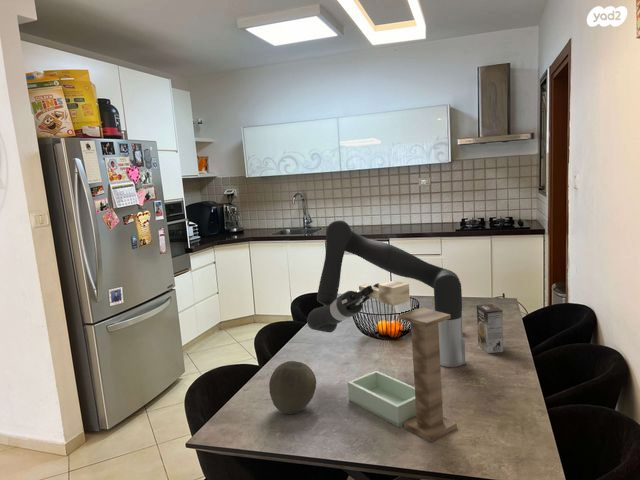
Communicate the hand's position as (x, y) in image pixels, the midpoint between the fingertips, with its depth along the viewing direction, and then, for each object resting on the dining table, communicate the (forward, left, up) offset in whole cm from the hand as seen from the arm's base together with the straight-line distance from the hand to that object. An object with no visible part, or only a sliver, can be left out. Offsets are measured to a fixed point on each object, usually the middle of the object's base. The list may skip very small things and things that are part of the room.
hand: (375, 287), depth 141 cm
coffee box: (-46, -36, -37) cm, 69 cm away
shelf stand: (-11, +16, -37) cm, 41 cm away
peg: (-1, +2, -3) cm, 4 cm away
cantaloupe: (+27, 0, -37) cm, 46 cm away
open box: (-1, +2, -37) cm, 37 cm away
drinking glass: (-18, -64, -37) cm, 76 cm away
